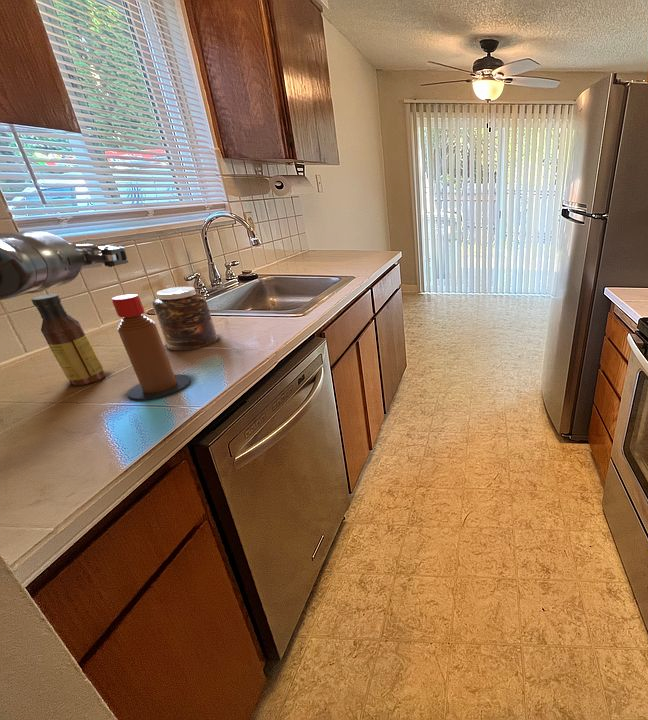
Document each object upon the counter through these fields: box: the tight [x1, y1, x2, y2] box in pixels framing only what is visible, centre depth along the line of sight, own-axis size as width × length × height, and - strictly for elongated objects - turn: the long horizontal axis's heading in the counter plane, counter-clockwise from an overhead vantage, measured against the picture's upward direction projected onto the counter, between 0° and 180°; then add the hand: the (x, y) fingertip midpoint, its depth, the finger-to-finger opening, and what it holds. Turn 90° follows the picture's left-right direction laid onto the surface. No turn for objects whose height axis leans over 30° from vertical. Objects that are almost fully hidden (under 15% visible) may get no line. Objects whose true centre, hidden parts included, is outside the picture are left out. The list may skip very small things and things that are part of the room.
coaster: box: [127, 374, 192, 401], centre depth 87 cm, size 11×11×1 cm
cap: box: [111, 293, 145, 318], centre depth 79 cm, size 4×4×4 cm
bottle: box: [117, 313, 177, 393], centre depth 82 cm, size 6×6×20 cm
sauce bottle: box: [30, 293, 106, 386], centre depth 87 cm, size 7×6×20 cm
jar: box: [152, 286, 219, 351], centre depth 108 cm, size 12×12×15 cm
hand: (82, 252), depth 66 cm, fingers open, 8 cm apart
